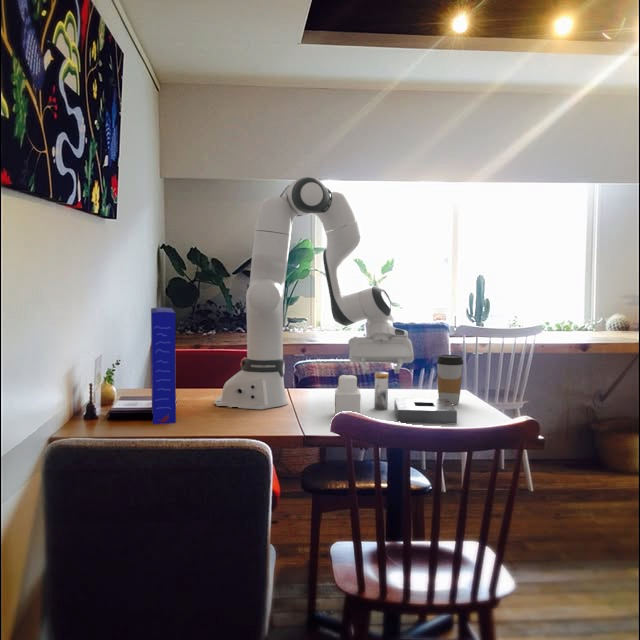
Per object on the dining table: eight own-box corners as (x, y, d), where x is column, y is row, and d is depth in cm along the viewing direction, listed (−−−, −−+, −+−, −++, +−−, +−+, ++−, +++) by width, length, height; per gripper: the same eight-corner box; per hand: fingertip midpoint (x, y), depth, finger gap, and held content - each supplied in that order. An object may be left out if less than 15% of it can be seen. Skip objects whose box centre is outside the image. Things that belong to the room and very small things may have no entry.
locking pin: (374, 409, 183) (375, 373, 182) (373, 406, 187) (374, 371, 186) (388, 410, 182) (388, 373, 182) (387, 407, 186) (388, 371, 186)
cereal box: (175, 422, 164) (175, 311, 162) (152, 424, 162) (151, 311, 160) (172, 406, 185) (171, 307, 182) (151, 407, 183) (151, 307, 181)
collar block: (397, 422, 167) (398, 409, 167) (394, 409, 183) (394, 398, 183) (456, 423, 166) (457, 411, 166) (448, 410, 182) (448, 399, 182)
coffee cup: (462, 406, 189) (464, 358, 188) (435, 404, 191) (436, 357, 190) (461, 400, 197) (463, 355, 196) (435, 399, 199) (436, 354, 198)
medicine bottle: (334, 413, 178) (335, 372, 177) (359, 413, 178) (360, 372, 177) (334, 418, 171) (335, 376, 170) (360, 419, 171) (360, 376, 170)
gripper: (348, 330, 195) (348, 365, 186) (412, 331, 194) (415, 366, 185) (348, 343, 200) (348, 377, 191) (411, 343, 199) (413, 378, 190)
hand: (381, 372), depth 188 cm, fingers open, 8 cm apart
